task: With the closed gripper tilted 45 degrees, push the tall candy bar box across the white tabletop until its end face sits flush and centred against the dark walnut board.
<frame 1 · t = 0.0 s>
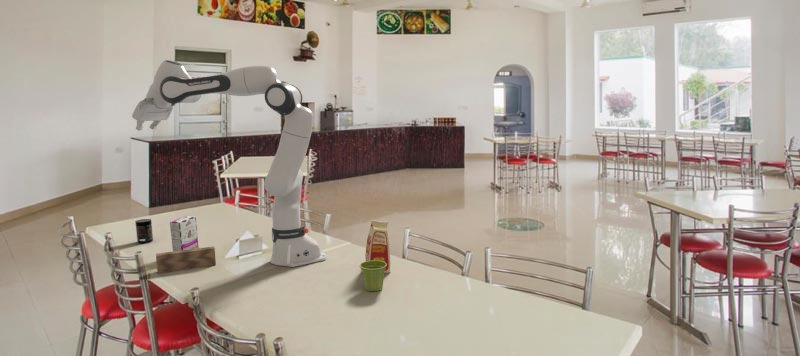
hand: (145, 129, 193), 54 cm above the table, tool tilted 30°, fingers open, 8 cm apart
walnut board: (187, 268, 190), on the table
plant pot: (373, 289, 166), on the table
supplement container: (145, 242, 227), on the table
candy bar box: (186, 256, 205), on the table
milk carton: (378, 270, 185), on the table
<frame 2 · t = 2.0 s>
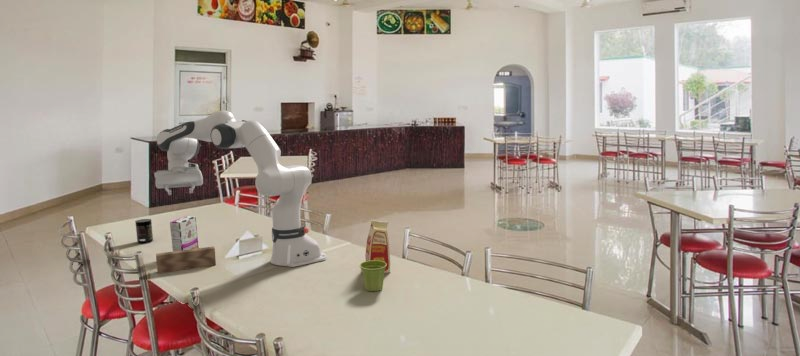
hand: (180, 193, 220), 24 cm above the table, tool tilted 45°, fingers open, 8 cm apart
nothing on the table moved.
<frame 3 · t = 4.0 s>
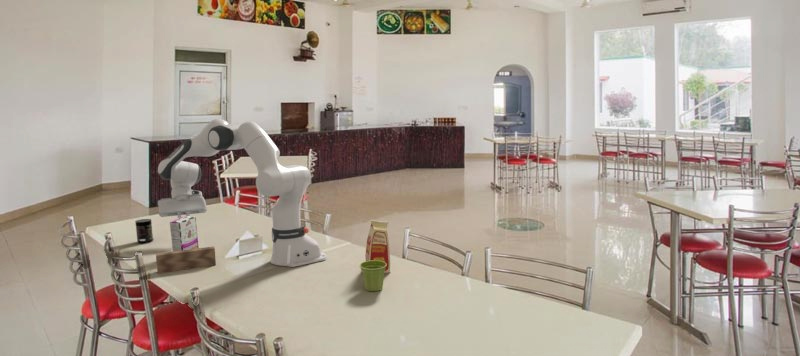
hand: (184, 221, 219), 11 cm above the table, tool tilted 45°, fingers closed
nothing on the table moved.
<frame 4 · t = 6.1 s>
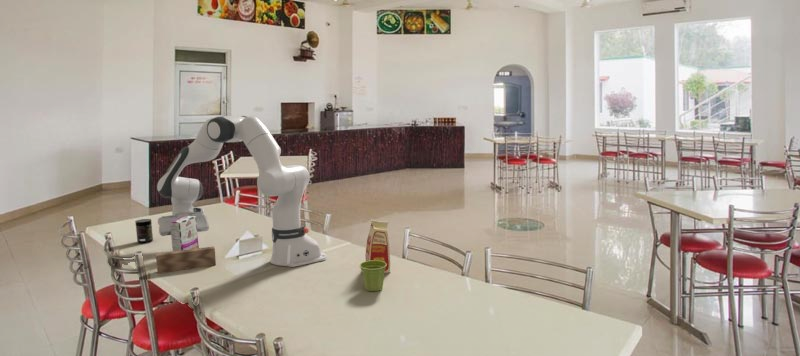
hand: (185, 240, 209), 5 cm above the table, tool tilted 45°, fingers closed
candy bar box: (186, 256, 205), on the table, touching gripper
everything else where it was.
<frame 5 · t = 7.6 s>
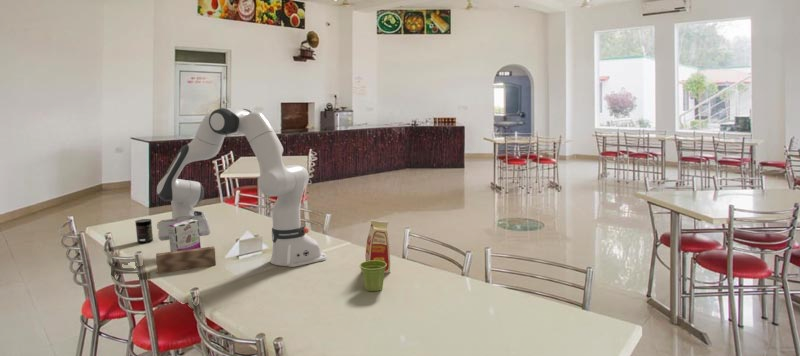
hand: (185, 245, 202), 5 cm above the table, tool tilted 45°, fingers closed
candy bar box: (186, 261, 198), on the table, touching gripper
everything else where it was.
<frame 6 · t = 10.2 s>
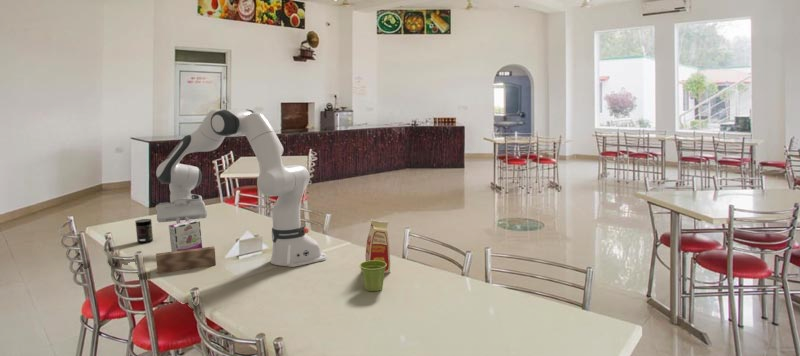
hand: (183, 227, 209), 11 cm above the table, tool tilted 45°, fingers closed
candy bar box: (187, 261, 198), on the table
everything else where it was.
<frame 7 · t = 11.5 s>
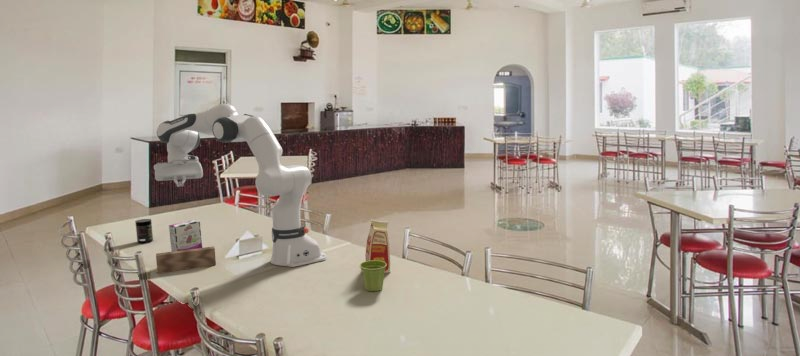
hand: (180, 185, 218), 28 cm above the table, tool tilted 45°, fingers closed
nothing on the table moved.
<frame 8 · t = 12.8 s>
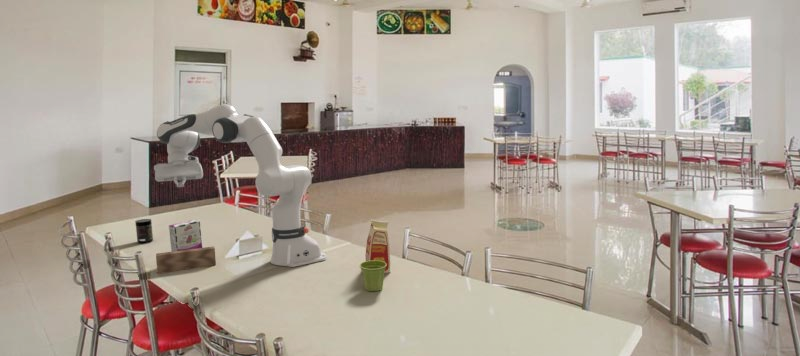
hand: (180, 186, 218), 27 cm above the table, tool tilted 45°, fingers closed
nothing on the table moved.
at the end: candy bar box 1.6 cm from the target spot on the table beside the walnut board, on the table; candy bar box tilted 0°; candy bar box moved 8.1 cm from its start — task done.
